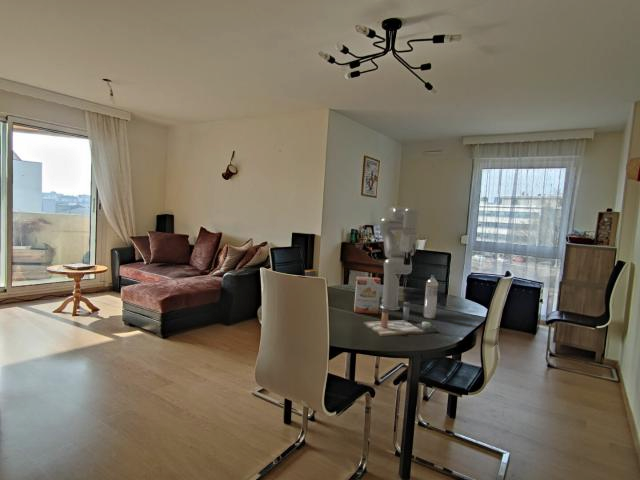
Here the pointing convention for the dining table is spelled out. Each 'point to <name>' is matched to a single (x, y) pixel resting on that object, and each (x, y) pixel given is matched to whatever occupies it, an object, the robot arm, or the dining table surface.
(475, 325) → the dining table surface
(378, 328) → the worksheet
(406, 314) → the slate
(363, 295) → the cracker box
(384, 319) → the marker terracotta
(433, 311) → the water bottle
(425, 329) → the button housing
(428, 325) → the button
